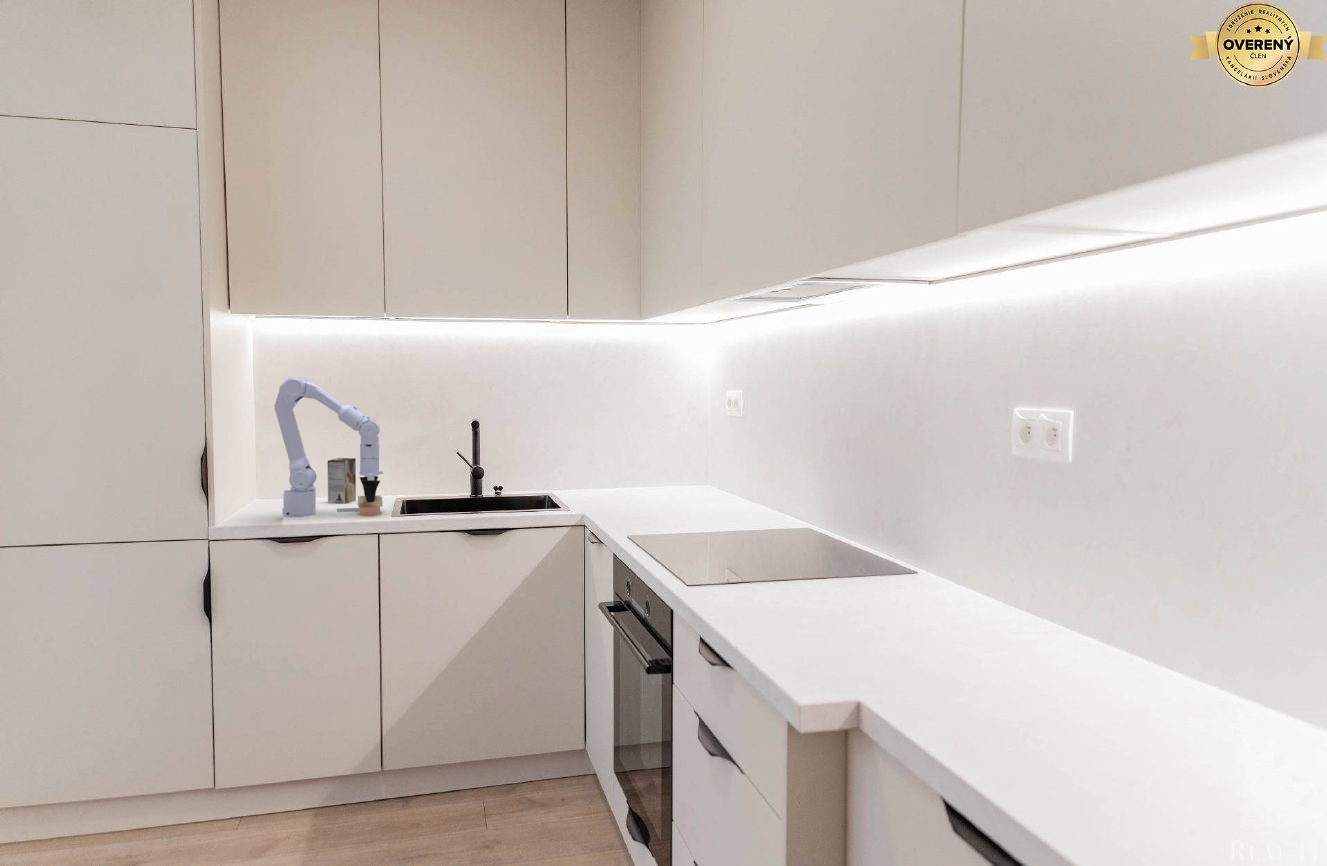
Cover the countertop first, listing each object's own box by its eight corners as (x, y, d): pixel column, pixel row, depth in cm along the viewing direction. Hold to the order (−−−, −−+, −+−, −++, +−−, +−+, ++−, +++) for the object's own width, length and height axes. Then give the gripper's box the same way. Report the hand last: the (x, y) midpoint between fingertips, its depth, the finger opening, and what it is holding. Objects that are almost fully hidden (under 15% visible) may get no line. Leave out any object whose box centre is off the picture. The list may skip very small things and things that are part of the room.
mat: (337, 515, 262) (337, 511, 262) (336, 512, 269) (336, 508, 268) (367, 514, 266) (367, 510, 266) (365, 511, 272) (365, 507, 272)
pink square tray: (360, 518, 257) (360, 507, 257) (359, 515, 263) (359, 504, 263) (380, 517, 260) (380, 507, 259) (378, 514, 265) (378, 504, 265)
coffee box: (338, 502, 288) (338, 457, 287) (356, 503, 288) (356, 458, 287) (327, 506, 279) (327, 460, 278) (345, 507, 279) (345, 460, 278)
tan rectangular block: (358, 507, 257) (358, 498, 257) (357, 505, 262) (357, 496, 262) (382, 506, 260) (382, 497, 260) (380, 504, 265) (380, 495, 265)
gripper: (384, 460, 255) (384, 503, 256) (381, 455, 268) (381, 496, 269) (360, 460, 252) (360, 504, 253) (358, 456, 266) (358, 497, 266)
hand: (369, 500), depth 261 cm, fingers open, 7 cm apart
